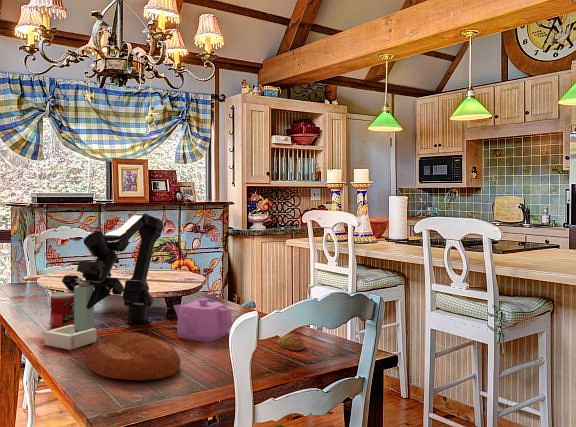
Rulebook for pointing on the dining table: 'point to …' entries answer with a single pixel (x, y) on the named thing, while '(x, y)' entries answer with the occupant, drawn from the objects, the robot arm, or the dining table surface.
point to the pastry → (291, 342)
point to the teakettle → (203, 320)
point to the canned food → (62, 309)
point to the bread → (132, 357)
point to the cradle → (69, 337)
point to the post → (83, 307)
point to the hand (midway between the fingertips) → (81, 307)
